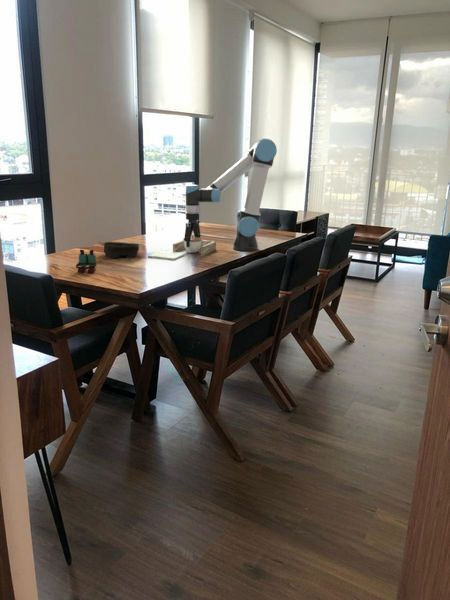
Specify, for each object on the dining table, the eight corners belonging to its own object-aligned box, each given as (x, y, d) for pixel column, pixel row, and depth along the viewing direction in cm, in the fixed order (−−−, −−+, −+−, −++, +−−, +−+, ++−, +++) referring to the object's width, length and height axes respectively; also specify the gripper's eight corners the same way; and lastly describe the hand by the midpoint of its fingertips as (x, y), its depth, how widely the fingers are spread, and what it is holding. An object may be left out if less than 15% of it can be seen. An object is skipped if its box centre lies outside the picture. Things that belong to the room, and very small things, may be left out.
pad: (186, 254, 281) (186, 253, 280) (174, 260, 266) (174, 258, 266) (161, 252, 286) (161, 250, 286) (147, 257, 271) (147, 255, 271)
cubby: (215, 249, 297) (215, 241, 296) (203, 255, 279) (203, 247, 278) (186, 246, 303) (186, 238, 302) (172, 252, 286) (172, 244, 284)
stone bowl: (100, 261, 259) (99, 243, 257) (99, 254, 283) (97, 238, 281) (147, 258, 266) (146, 241, 263) (142, 252, 289) (141, 237, 287)
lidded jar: (199, 253, 282) (199, 237, 279) (181, 252, 284) (181, 236, 281) (203, 250, 292) (203, 234, 289) (186, 249, 294) (186, 233, 291)
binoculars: (73, 254, 229) (78, 248, 238) (75, 275, 233) (80, 268, 242) (92, 254, 229) (97, 248, 238) (94, 276, 233) (98, 269, 242)
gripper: (194, 210, 293) (194, 246, 299) (177, 214, 272) (178, 253, 278) (206, 210, 290) (206, 247, 297) (190, 215, 269) (190, 255, 276)
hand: (192, 250), depth 288 cm, fingers closed on lidded jar, 11 cm apart
